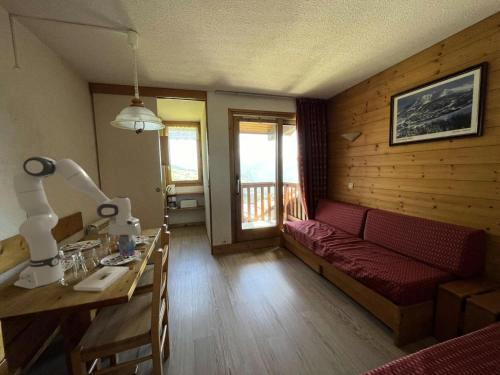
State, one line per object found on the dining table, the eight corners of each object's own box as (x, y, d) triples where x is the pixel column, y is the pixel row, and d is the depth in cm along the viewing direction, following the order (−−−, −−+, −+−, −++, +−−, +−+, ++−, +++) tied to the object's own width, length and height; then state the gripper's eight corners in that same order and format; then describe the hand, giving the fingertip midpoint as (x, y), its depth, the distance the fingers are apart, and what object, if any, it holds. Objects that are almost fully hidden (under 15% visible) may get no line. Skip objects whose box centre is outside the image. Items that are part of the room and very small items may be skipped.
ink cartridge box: (119, 256, 154) (117, 236, 152) (126, 253, 159) (124, 234, 157) (128, 258, 150) (126, 238, 148) (135, 255, 155) (133, 236, 153)
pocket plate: (73, 290, 113) (73, 286, 113) (105, 269, 135) (104, 266, 135) (101, 291, 112) (101, 287, 112) (128, 270, 134) (128, 266, 133)
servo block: (117, 248, 135) (116, 236, 135) (127, 242, 145) (127, 231, 144) (123, 248, 135) (122, 236, 134) (133, 242, 145) (132, 231, 144)
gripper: (105, 221, 136) (107, 242, 138) (135, 222, 134) (137, 243, 136) (112, 219, 142) (114, 238, 144) (141, 219, 141) (142, 239, 142)
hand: (125, 241), depth 140 cm, fingers closed on servo block, 4 cm apart
